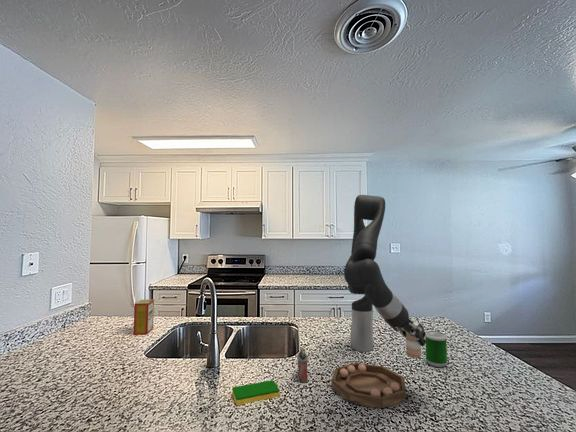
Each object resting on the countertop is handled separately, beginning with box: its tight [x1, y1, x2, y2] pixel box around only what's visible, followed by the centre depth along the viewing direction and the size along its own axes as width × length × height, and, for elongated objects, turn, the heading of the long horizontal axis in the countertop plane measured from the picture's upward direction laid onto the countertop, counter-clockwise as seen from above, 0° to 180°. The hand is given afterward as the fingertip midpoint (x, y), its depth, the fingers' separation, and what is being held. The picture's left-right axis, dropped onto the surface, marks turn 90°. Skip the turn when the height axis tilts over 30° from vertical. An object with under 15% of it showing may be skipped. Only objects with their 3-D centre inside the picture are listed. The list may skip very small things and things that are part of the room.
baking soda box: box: [132, 299, 155, 336], centre depth 157 cm, size 10×6×16 cm
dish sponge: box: [231, 379, 281, 406], centre depth 96 cm, size 7×14×2 cm, turn 111°
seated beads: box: [340, 363, 400, 397], centre depth 100 cm, size 20×11×3 cm, turn 27°
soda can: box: [424, 330, 448, 368], centre depth 119 cm, size 8×8×12 cm
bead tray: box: [331, 362, 407, 409], centre depth 100 cm, size 23×23×3 cm
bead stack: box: [405, 321, 422, 359], centre depth 98 cm, size 4×4×10 cm
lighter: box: [297, 346, 309, 385], centre depth 107 cm, size 8×3×10 cm, turn 5°
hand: (417, 341), depth 99 cm, fingers closed on bead stack, 4 cm apart
